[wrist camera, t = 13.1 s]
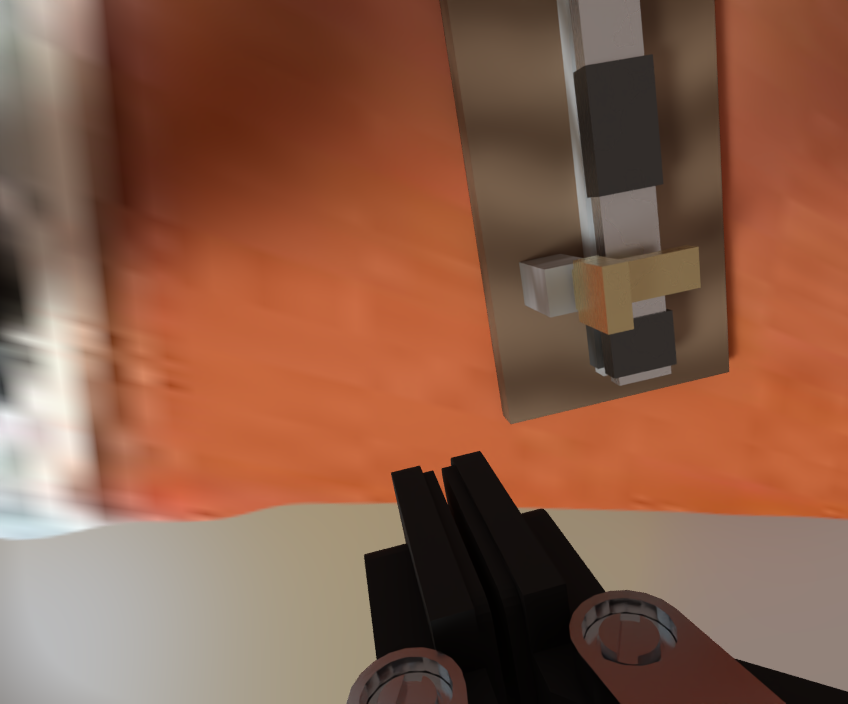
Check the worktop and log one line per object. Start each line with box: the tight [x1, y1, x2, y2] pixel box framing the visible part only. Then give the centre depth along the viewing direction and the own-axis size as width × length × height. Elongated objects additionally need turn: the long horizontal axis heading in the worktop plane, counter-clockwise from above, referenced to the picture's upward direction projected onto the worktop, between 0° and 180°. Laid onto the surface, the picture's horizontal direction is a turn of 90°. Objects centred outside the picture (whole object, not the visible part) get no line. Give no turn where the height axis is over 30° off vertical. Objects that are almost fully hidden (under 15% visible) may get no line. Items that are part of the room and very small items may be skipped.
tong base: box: [439, 0, 729, 424], centre depth 30 cm, size 31×14×6 cm, turn 10°
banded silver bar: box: [569, 0, 677, 386], centre depth 29 cm, size 26×4×1 cm, turn 10°
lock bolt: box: [572, 245, 701, 335], centre depth 27 cm, size 6×3×4 cm, turn 100°
